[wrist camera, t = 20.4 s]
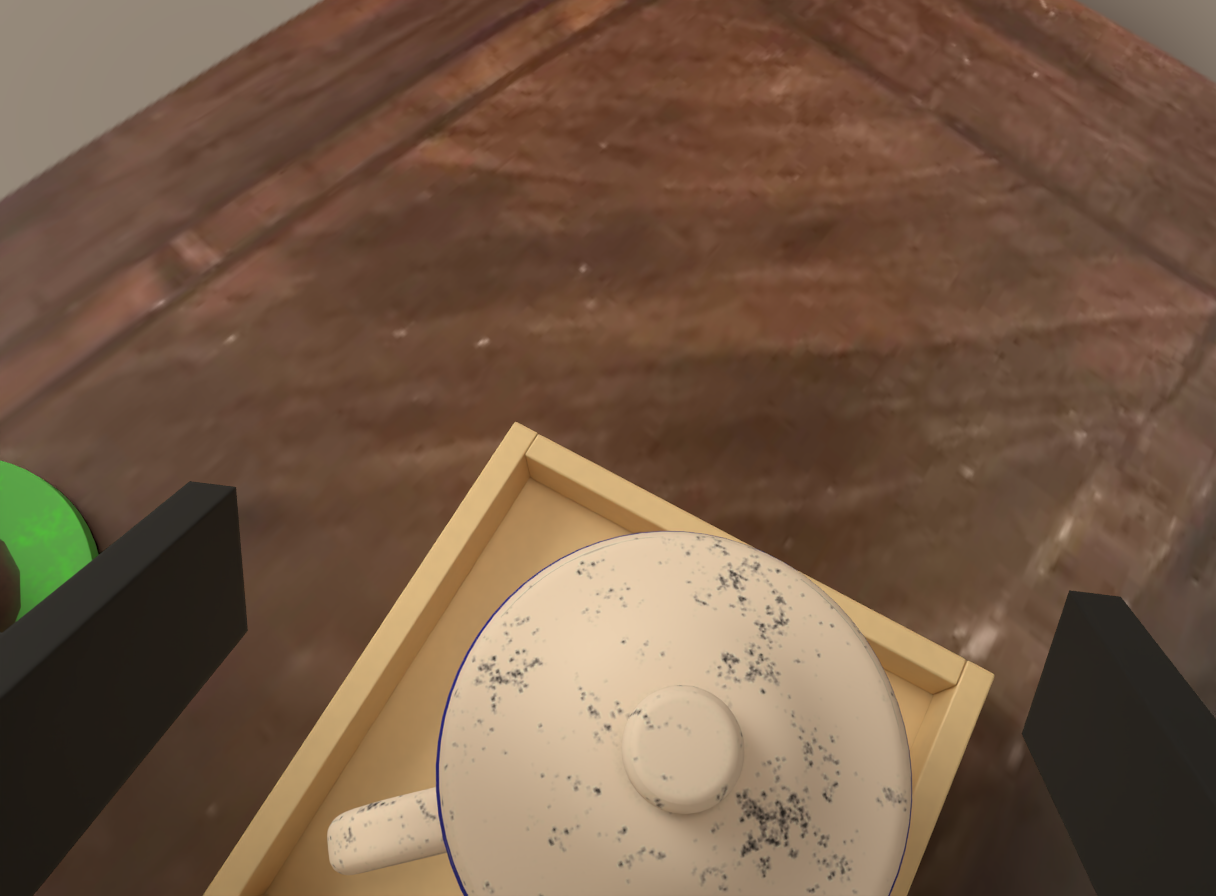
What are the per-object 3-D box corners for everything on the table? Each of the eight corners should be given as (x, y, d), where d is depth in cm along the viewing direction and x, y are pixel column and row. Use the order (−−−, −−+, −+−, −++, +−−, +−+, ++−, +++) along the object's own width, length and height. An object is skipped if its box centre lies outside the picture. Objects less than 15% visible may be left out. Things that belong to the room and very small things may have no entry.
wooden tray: (959, 688, 27) (996, 674, 24) (729, 1245, 22) (745, 1301, 20) (523, 455, 30) (515, 420, 27) (234, 902, 25) (190, 912, 22)
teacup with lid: (765, 584, 27) (863, 431, 17) (864, 915, 24) (1067, 993, 13) (366, 676, 27) (196, 576, 16) (412, 1034, 23) (236, 1219, 12)
